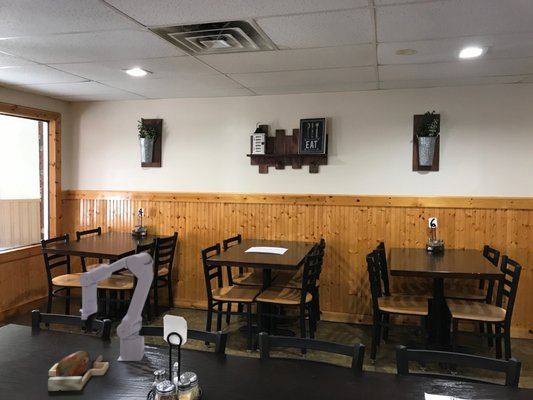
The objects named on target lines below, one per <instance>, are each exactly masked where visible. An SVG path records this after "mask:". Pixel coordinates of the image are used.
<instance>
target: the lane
mask: <svg viewBox="0 0 533 400" xmlns="http://www.w3.org/2000/svg"><path fill="white" fill-rule="evenodd" d="M102 361H103V355H102V354H101V355H98V356H97V358H96V360H95V361H94V362H93V365H92V366H93V368H96V363H97V362H102ZM93 368H88V369H87V370H86V372H85V374H84V376H81V375H79V376H75V377H56V376H49V378H48V379H47V391H48V392H55V391H56V392H57V391H58V392H59V390H61V391H62V392H63V391H81V390H82V389H83V387H84V386H85V384H86V383H87V382H88V380H89V379H90V377H91V376H92V375H91V370H92V369H93ZM61 391H60V392H61Z"/></svg>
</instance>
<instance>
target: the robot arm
mask: <svg viewBox="0 0 533 400" xmlns="http://www.w3.org/2000/svg"><path fill="white" fill-rule="evenodd" d="M153 265H154V260H153V257H152V256H151V255H150V254H149V253H148V252H141V253H137V254H133V255H129V256H126V257H123V258H121V259H119V260H117V261H115V262H113V263H111V264H106V263H104V264H103V263H101V264H100V263H99V264H98V266H97V267H95V268H91V269H89V271H86V272H82V273H81V274H80V275H79V277H78V281H79V284H80V286H81V298H82V299H81V302H82V306H81V307H82V308H80V309H79V313H81V315H80V316H81V319H80V320H82V321H83V324H84V327H85V330H86V332H93V331H94V327H95V322H96V319H97V317H98V314H99V313H98V298H97V297H98V296H97V294H98V293H97V292H98V291H97V290H98V283H99V282H101V281H103V280H105V279H106V280H107V278H110V277H111V276H112V274H113V273H114V272H116V271H119V270H121V269H123V268H125V269H128V270H129V271H130V272H131V273H132V274H133V275H134V276H135V277H136V278H137V284H136V286H135V289H134V293H133V295H132V299H131V301H130V304H129V307H128V309H127V313H126V315H125V316H124V317H123V318H122V320H121V322H120V323H119V325H118V326H117V327H116V335H117V336H118V337H119V340H120V347H119V348H120V350H119V351H120V355H119V357H118V359H117V362H141V361H142V359H143V357H144V356H145V352H146V351H145V337H144V336H143V335H139V334H140V331H141V329H142V325H143V324H142V321H143V317H142V311H143V309H144V306H145V302H146V301H147V297H148V294H149V291H150V288H151V285H152V282H153V280H154V270H153Z"/></svg>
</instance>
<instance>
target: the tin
mask: <svg viewBox="0 0 533 400" xmlns="http://www.w3.org/2000/svg"><path fill="white" fill-rule="evenodd" d="M57 363H58V365H57V367H56V376H55V377H75V376H81V375H83V374H84V373H86V372H87V371H88V369H89V367H90V363H91V356H90V353H89V352H88V351H87V350H86V351H85V350H78V351H76V352H74V353H71V354H70V355H68V356H65V357H64V358H61V360H60V361H59V362H57Z"/></svg>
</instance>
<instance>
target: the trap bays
mask: <svg viewBox="0 0 533 400" xmlns="http://www.w3.org/2000/svg"><path fill="white" fill-rule="evenodd" d="M58 363H59V362H56V363H55V364H54V365H53V366H52V367H51V368H50V369H49V370H48V377H56V367H57V365H58ZM109 365H110V364H109V361H106V362H105V361H103V362H102V361H101V362H97V363H96V368H91V369H92V370H91V376H104V374H105V373H106V372H107V370H108V369H109Z"/></svg>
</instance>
